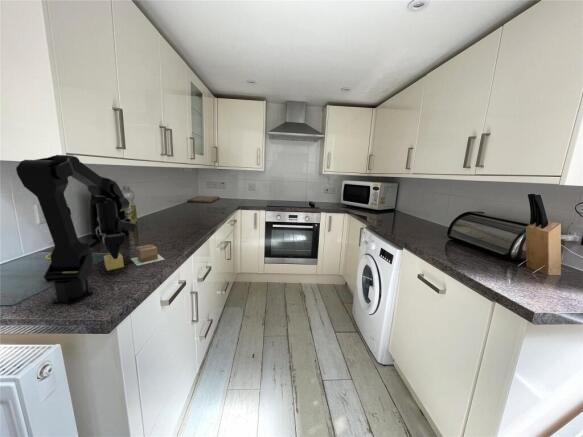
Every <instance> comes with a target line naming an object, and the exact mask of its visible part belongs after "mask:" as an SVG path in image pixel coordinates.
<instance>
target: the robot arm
mask: <svg viewBox="0 0 583 437" xmlns="http://www.w3.org/2000/svg"><path fill="white" fill-rule="evenodd" d="M15 168H16V169H15V170H16V174H17V176H18V178H19V180H20V182H21V184H22V185H23V187H24V188H25V189H27V190H28V191H29V192H31V194H33V195H34V196H35V197H36V198H37V200H38V202H39V206H40V208H41V211H42V214H43V216H44V219H45V223H46V225H47V227H48V230H49V233H50V236H51V238H52V242H53V245H54V247H53V249H52V251H51V253H50V254H51V255H50V257H51V263H50V264H49V266H48V268H47V270H46V272H45V274H44V276H43V278H44V280H45V282H46V283H53V282H54V283H53V284H54V290H55V296H56V298H55V299H53V300H52V301H51V302H52V303H53V302H59V303H58V304H67V303H70V304H71V305H72V304H73V303H74V304H76V303H77V301H78V302H79V301H82V300H83V299H84V298H86V297H89V296H90V295H91V294H93V293H94V292H93V290H90V288H89V284H88V277H90V276H91V275H92V273H93V263H94V258H93V256H92V255H93V252H92V250H91V246H90V244H89V243H88V242H82V241H80V240H79V238H78V234H77V232H76V228H75V225H74V223H73V219H72V216H71V213H70V209H69V206H68V204H67V199H66V197H65V194H64V193H65V191H66V188H67V187H68V185H69V179H68V178H69V177H71V178H73V179H75V180H76V181H78V182H80V183H81V184H83V185H85V186H86V187H87V191H88V192H89V193H90V194H91V195H92V196H93V197H96V198H95V199H94V200H93V201H92V205H96V211H97V218H96V220H97V221H98V226H97V227H96V228H95V235H96V236H97V237H98V239H99V240H100V242H101V244H102V245H103V246H104V248H105V249H106V250H107V252H108V253H109V255H110V254H111V256H112V257H113V259H117V258H118V253H120V248H121V245H123V244H124V243H125V242H127V235H126V234H125V233H123V232H122V231H128V232H131V233H136V230H137V226H138V224H137V223H136V222H133V221H131V218H129V217H128V218H127V217H124V218H123V219H121V218H120V217H119V216H118V214H119V212H122V211H126V210H128V209H129V207H130V206H131V204H130V201H129V199H127V197H125V196H124V193H123V191H122V190H121V188H120V186H119V185H118V183H117V182H116V181H115V180H113V179H110V178H107V177H103V176H101V175H99V174H98V173H97V172H95V171H94V170H92V169H91V168H90V167H88V166H87V165H85V164H84V163H83V162H81V161H80V159H79V158H78V157H77V156H75V155H71V154H70V155H67V154H65V155H64V154H55V155H52V156H48V157H44V158H42V157H41V158H39V159H37V158H36V159H24V160H21V161H20V162H19V163H18V165H17V166H16V167H15ZM68 271H78V273H62V272H68Z"/></svg>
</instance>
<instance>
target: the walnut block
mask: <svg viewBox="0 0 583 437" xmlns="http://www.w3.org/2000/svg"><path fill="white" fill-rule="evenodd" d="M136 257H137V259H138V260H139V261H140V262H141V263H143V262H147V261H152V260H156V259H158V248H157V246H155V245H154V244H147V245H140V246H136Z"/></svg>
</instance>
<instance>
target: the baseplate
mask: <svg viewBox="0 0 583 437" xmlns="http://www.w3.org/2000/svg"><path fill="white" fill-rule="evenodd" d="M130 260H131V261H132V262H133V263H134V264H135V265H136V266H142V265H146V264H150V263H155V262H159V261H163V260H164V261H165V258H164V257H163V256H162V255H160V254H158V259H156V260H152V261H147V262H143V263H141V262H140V261H139V260H138V259H137V256H136V257H132V258H130Z"/></svg>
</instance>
